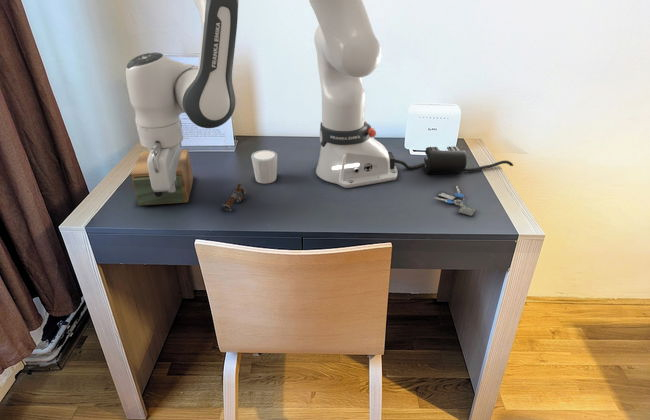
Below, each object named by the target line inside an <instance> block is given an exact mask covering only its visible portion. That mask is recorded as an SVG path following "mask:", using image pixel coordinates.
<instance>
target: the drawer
mask: <svg viewBox="0 0 650 420" xmlns="http://www.w3.org/2000/svg"><path fill="white" fill-rule="evenodd" d="M133 182H134V185H133V187H134V186H135V189H134V191H135V190H136V193H135V195H136V194H137V197H136V199H137V198H138V200H137V203H138V202H139V204H138V206H139V205H141V206H150V205H149V204H155V205H164V204H163V203H169V204H179V203H178V202H184V201H185V198H184V193H183V188H182V183H181V178H180V175H179V174H176V182H177V187H176V191H175V192H170V193H169V192H168V191H165V192H154V191H153V189H152V186H151V182H150V176H142V177H139V178H134V179H133V181H132V183H133ZM184 203H185V202H184Z"/></svg>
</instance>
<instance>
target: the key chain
mask: <svg viewBox="0 0 650 420" xmlns="http://www.w3.org/2000/svg"><path fill="white" fill-rule="evenodd" d="M455 188H456V189H455V190H456V192H455V193H454V196H453V195H451V194H447V193H445V192H441V193H439V194H438V196H440V197H441V198H440V197H437V196H434V200H437V201H440V202H441V201H442V202H445V204H449V205H450V204H451V205H452V204H454V205H456V206H458V207H460V208H459V209H458V213H459V214H463V215H467V216H469V217H470V216H471V217H472V216H473V215H474V214H475V211H476V209H475V208H472V207H469V206H466V205H465V204H464V201H465V195H464V194H463V193H461V191H460V189H459V186H458V185H455ZM442 197H443V198H442ZM456 198H460V199H461V198H462V199H463V200H460V199H456Z"/></svg>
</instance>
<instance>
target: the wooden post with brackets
mask: <svg viewBox="0 0 650 420" xmlns="http://www.w3.org/2000/svg"><path fill="white" fill-rule="evenodd" d="M243 187H244V182H243V181H240V182H238V183H237V185H236V188H235V190H233V192H232V193H231V195H230V198H229V199H228V200H227V201H226V203H223V204H222V207H223V209H224V210H225V211H229V212H232V205H233V203H234V201H235V200H236V202H237V203H240V202H241V201H242V200H243V199H244V198H243V196H246V195H247V192H246V190H245V189H244V188H243ZM239 193H240V194H239Z"/></svg>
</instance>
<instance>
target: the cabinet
mask: <svg viewBox="0 0 650 420" xmlns="http://www.w3.org/2000/svg"><path fill="white" fill-rule="evenodd" d="M149 154H150V151H149V150H147V151H141V153H140V154H139V156H138V159H137V161H136V162H135V165H134V166H133V169H132V171H131V173H130V177H131V181H132V185H133V188H134V192H135V197H136V200H137V203H138V206H142V205H139V202H138V198H137V194H136V190H135V186H134V182H133V179H134V178H139V177H142V176H149V171H148V163H147V161H148V156H149ZM191 163H192V162H191V157H190V151H189V149H187V148H186V149H182V152H181V156H180V160H179V163H178V167H177V170H176V174H179V175H180V178H181V183H182V188H183V193H184V198H185V201H184V202H178V203H177V204H182V203H184V204H185V203H189V200H190V196H191V195H190V194H191V191H192V186H193V182H194V173H193V169H192V164H191ZM167 204H168V205H169V204H170V203H163V204H162V205H167ZM148 206H156V204H149V205H148Z"/></svg>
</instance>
